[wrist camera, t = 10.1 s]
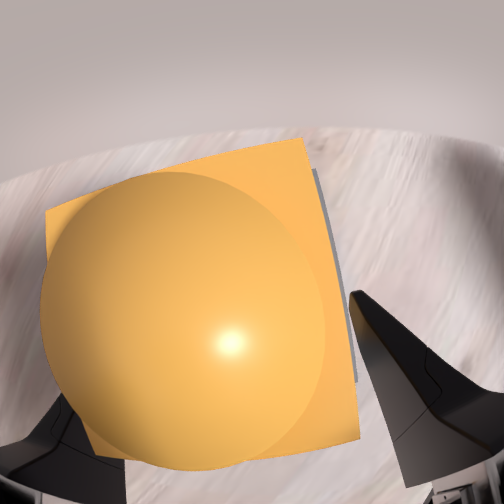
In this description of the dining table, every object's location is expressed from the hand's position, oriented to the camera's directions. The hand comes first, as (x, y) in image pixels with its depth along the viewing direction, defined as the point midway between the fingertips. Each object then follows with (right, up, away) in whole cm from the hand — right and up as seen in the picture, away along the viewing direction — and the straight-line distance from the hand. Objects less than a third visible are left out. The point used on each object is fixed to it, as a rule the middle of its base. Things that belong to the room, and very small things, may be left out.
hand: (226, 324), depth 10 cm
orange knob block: (0, 0, +7) cm, 7 cm away
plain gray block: (+1, 0, +8) cm, 8 cm away
